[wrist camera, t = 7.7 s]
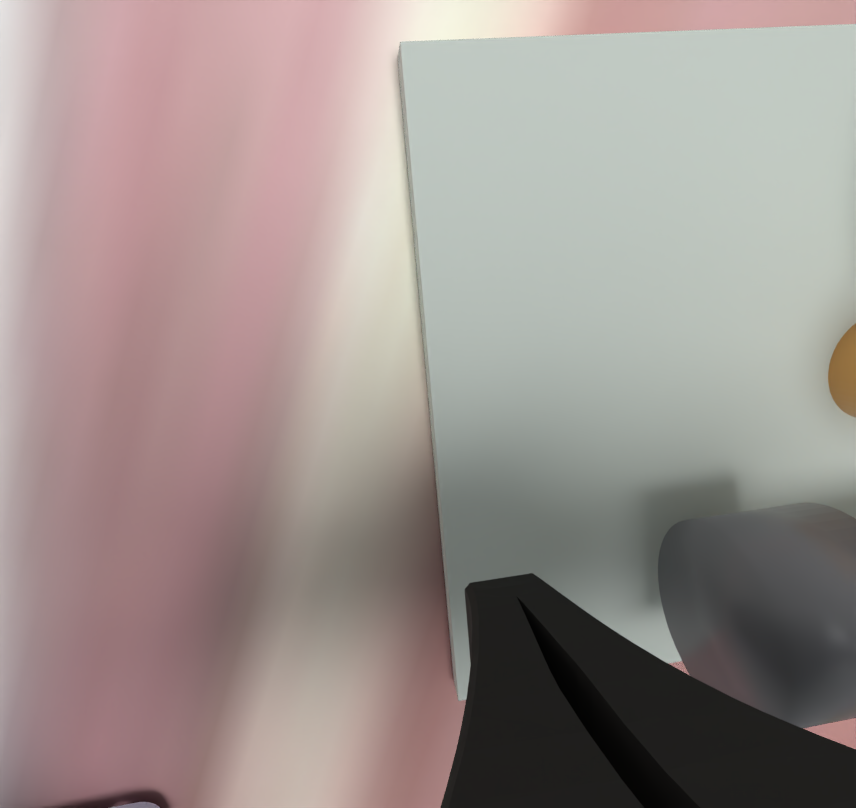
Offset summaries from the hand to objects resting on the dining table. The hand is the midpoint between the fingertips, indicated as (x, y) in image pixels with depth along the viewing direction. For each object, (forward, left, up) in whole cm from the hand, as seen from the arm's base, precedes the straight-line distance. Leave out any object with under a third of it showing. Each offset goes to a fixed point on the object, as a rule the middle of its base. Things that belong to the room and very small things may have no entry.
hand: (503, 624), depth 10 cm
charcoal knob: (+9, 0, -1) cm, 9 cm away
